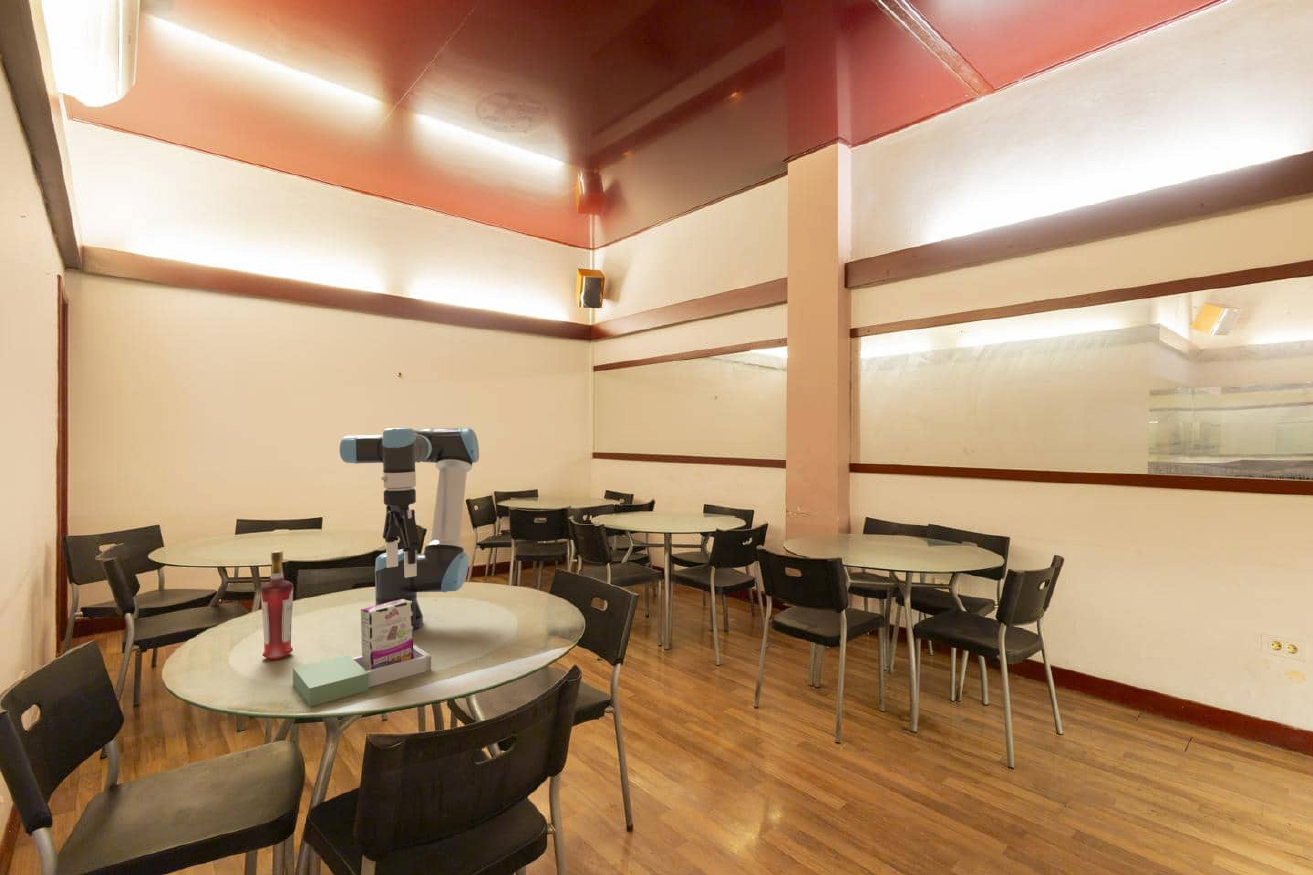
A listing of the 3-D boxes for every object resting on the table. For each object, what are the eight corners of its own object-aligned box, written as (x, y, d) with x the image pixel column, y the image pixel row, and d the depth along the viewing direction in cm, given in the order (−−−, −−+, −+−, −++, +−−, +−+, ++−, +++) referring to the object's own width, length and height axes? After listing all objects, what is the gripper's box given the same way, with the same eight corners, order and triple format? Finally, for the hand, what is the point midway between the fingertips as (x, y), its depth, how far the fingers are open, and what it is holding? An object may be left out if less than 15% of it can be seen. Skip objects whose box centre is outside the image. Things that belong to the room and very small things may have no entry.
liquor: (264, 654, 159) (263, 550, 159) (296, 650, 162) (295, 548, 162) (258, 663, 153) (257, 555, 153) (291, 659, 156) (290, 553, 156)
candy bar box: (403, 661, 153) (402, 597, 153) (414, 665, 150) (413, 600, 150) (360, 675, 144) (359, 608, 144) (371, 680, 141) (370, 611, 141)
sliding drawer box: (293, 684, 140) (292, 667, 140) (410, 654, 158) (409, 639, 158) (309, 706, 128) (309, 688, 128) (434, 672, 147) (433, 655, 147)
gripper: (369, 485, 157) (370, 565, 158) (401, 494, 139) (402, 583, 139) (398, 483, 162) (399, 560, 163) (433, 491, 144) (434, 578, 144)
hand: (401, 571), depth 151 cm, fingers open, 13 cm apart
